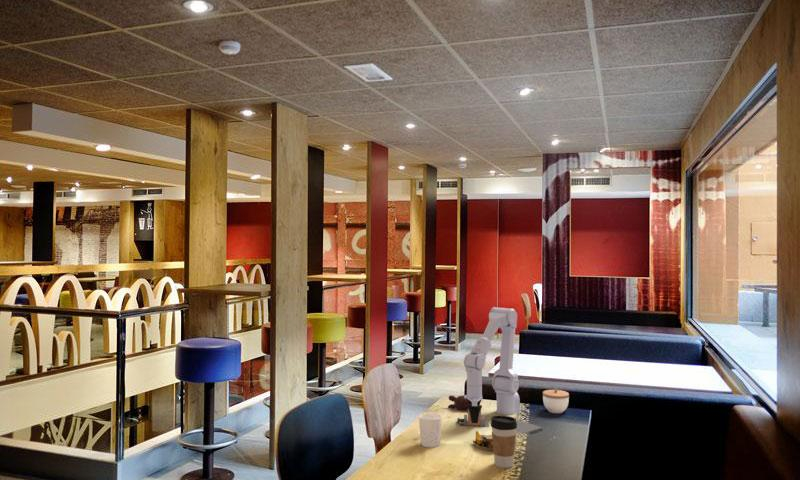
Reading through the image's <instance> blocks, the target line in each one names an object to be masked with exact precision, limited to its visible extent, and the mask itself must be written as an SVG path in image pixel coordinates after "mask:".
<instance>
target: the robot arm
mask: <svg viewBox="0 0 800 480" xmlns="http://www.w3.org/2000/svg"><path fill="white" fill-rule="evenodd" d="M488 320H489V321H488V323H487V326H486V328H485V330H484V332H483V335H482V336H481V337H478V338H477V340H476V342H475V344H474V346H473V347H472V349H471V350H470V352H469V353H468V354H466V355H465V356H464V359H463V365H464V367H465V372H466V394H464V395H463V396H464V398H467V400H468V402H469V404H467V407H468V409H469V412H470V416H471V422H472V423H477V422H478V417H479V413H480V410H481V411H482V408H483V405H482V404H481V402H482V401H483V368H484V367H485V365H486V360H487V357H486V356H487V354H488V352H489V351H490V349H491V348H492V347H491V346H492V343H491V340H492V339H493V338H494V336H495V334H496V333H497V332H498V330H499V329H500V330H501V344H500V357H499V368H498V369H496V371H494V372H493V373H494V375H493V378H492V381H491V386H492V388H493V390H494V393H496V413H497V414H499V415H502V416H509V415H514V414H515V413H519V412H521V410H520V409H521V407H520V406H521V402H520V401H521V399H520V395H519V393H518V390H519V387H520V384H519V383H520V382H519V375H518V373H517V372H515V370H514V369H513V364H514V354H515V353H514V351H515V350H514V349H515V337H516V329H517V327H518V325H517V324H518V313H517V312H516V310H515V309H514V308H506V307H498V306H497V307H496V306H493V307H492V308H491V309H490V311H489V313H488ZM468 409H467V410H468Z"/></svg>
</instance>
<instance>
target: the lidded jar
mask: <svg viewBox="0 0 800 480" xmlns="http://www.w3.org/2000/svg"><path fill="white" fill-rule="evenodd" d="M569 399H570V393H569V392H567V391H565V390H561V389H558V388H554V389H546V390H543V391H542V401H543V402H542V403H543V405H544V407H545V408H546V410H547V411H548V412H549V413H551V414H563V413H564V411H565V410H566V409H567V408H568V406H569V403H570V402H569V401H570V400H569Z"/></svg>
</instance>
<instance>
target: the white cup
mask: <svg viewBox="0 0 800 480" xmlns="http://www.w3.org/2000/svg"><path fill="white" fill-rule="evenodd" d="M418 419H419V421H418V422H419V423H418V424H419V438H420V445H421V446H422V447H424V448H429V449H430V448H437V447H439V446H440V444H441V434H442V415H441V414H439V413H435V412H425V413H421V414H419V416H418Z"/></svg>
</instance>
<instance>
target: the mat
mask: <svg viewBox="0 0 800 480" xmlns="http://www.w3.org/2000/svg"><path fill="white" fill-rule="evenodd" d="M516 422H517V428H516V433H520V434H527V433H529V434H530V435H531V434H534V433H538V432H541V431H543V427H542V426H538V425H536V424H532V423H529V422H525V421H523V420H522V421H521V420H516Z"/></svg>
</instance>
